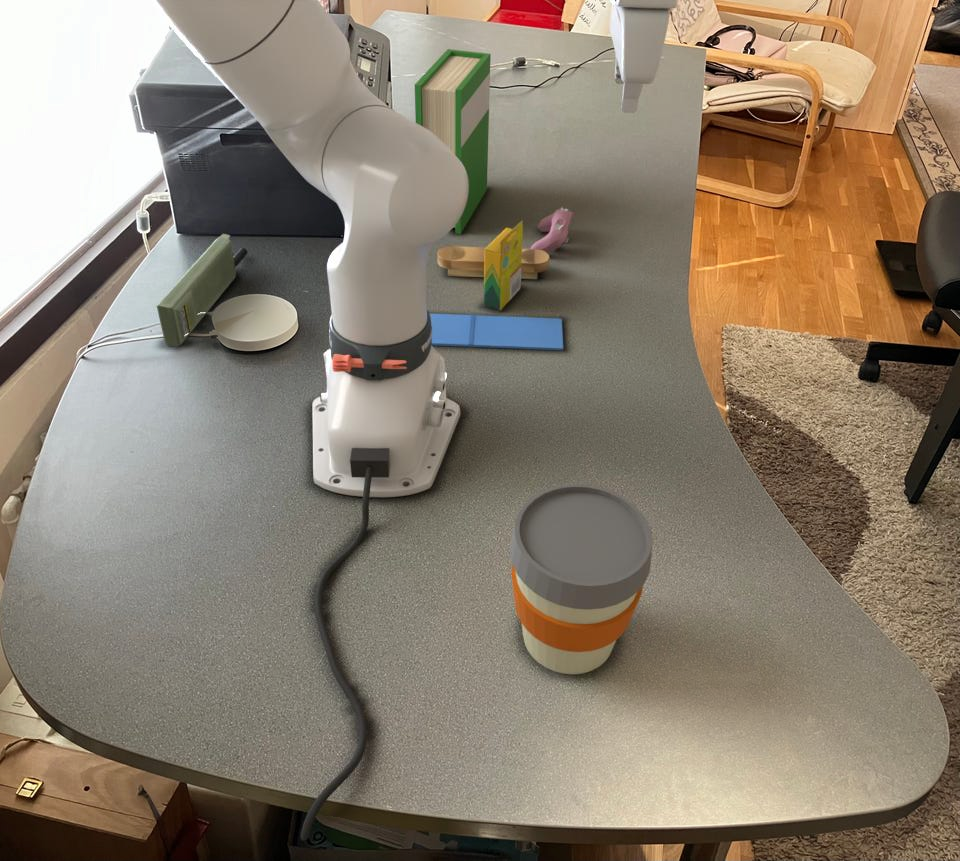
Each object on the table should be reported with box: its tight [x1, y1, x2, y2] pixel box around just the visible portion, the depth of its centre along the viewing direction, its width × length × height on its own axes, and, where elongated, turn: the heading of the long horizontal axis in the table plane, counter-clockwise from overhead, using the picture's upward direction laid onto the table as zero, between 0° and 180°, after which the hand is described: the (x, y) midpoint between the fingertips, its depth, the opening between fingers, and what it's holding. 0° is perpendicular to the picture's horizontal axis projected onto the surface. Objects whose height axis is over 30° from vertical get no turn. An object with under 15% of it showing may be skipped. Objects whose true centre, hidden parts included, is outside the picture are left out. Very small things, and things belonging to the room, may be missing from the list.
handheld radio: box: [156, 233, 248, 348], centre depth 128 cm, size 7×3×25 cm
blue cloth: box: [429, 312, 564, 351], centre depth 125 cm, size 8×20×1 cm, turn 88°
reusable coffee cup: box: [509, 483, 653, 675], centre depth 81 cm, size 12×13×15 cm
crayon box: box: [483, 220, 524, 312], centre depth 128 cm, size 7×3×12 cm, turn 152°
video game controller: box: [530, 206, 574, 255], centre depth 143 cm, size 10×5×7 cm, turn 168°
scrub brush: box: [436, 245, 550, 280], centre depth 137 cm, size 18×4×3 cm, turn 88°
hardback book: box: [414, 48, 492, 235], centre depth 146 cm, size 18×7×24 cm, turn 165°
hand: (624, 95), depth 105 cm, fingers open, 8 cm apart
